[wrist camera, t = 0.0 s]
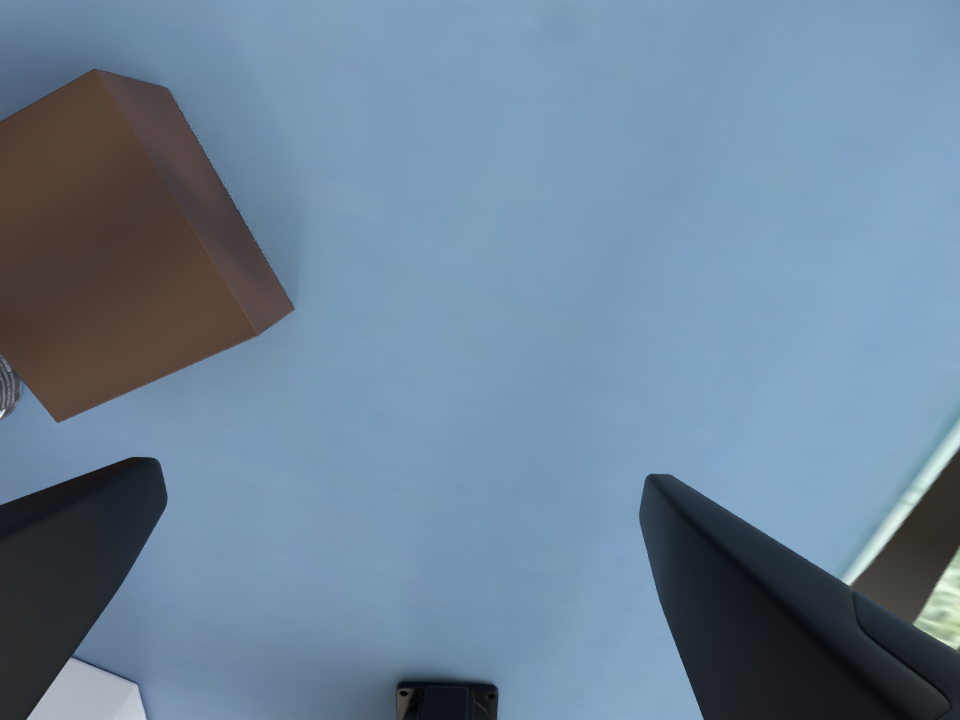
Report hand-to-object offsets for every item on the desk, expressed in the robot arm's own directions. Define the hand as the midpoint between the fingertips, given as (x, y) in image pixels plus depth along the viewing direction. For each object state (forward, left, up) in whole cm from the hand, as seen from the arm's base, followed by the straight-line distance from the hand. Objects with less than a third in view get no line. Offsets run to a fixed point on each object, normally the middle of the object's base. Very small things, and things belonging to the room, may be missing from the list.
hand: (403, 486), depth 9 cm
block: (+2, +14, -15) cm, 20 cm away
